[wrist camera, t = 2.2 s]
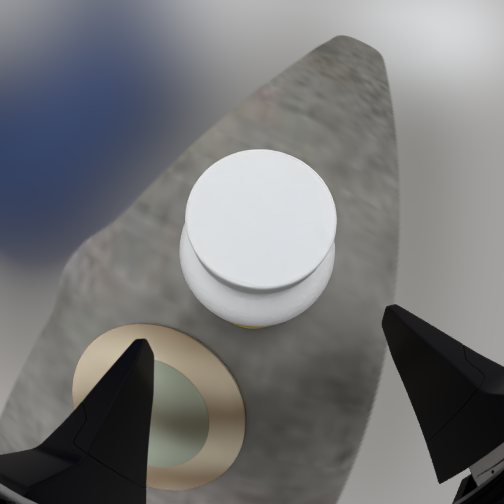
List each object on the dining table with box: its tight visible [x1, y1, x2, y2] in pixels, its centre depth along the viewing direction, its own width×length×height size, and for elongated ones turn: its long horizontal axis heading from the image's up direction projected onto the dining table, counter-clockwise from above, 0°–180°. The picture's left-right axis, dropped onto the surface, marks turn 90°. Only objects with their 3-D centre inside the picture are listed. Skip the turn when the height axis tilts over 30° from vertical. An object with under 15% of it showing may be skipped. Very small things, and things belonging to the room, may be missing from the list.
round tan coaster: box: [73, 324, 245, 490], centre depth 17 cm, size 14×14×1 cm
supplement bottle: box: [180, 150, 337, 329], centre depth 14 cm, size 7×7×13 cm
